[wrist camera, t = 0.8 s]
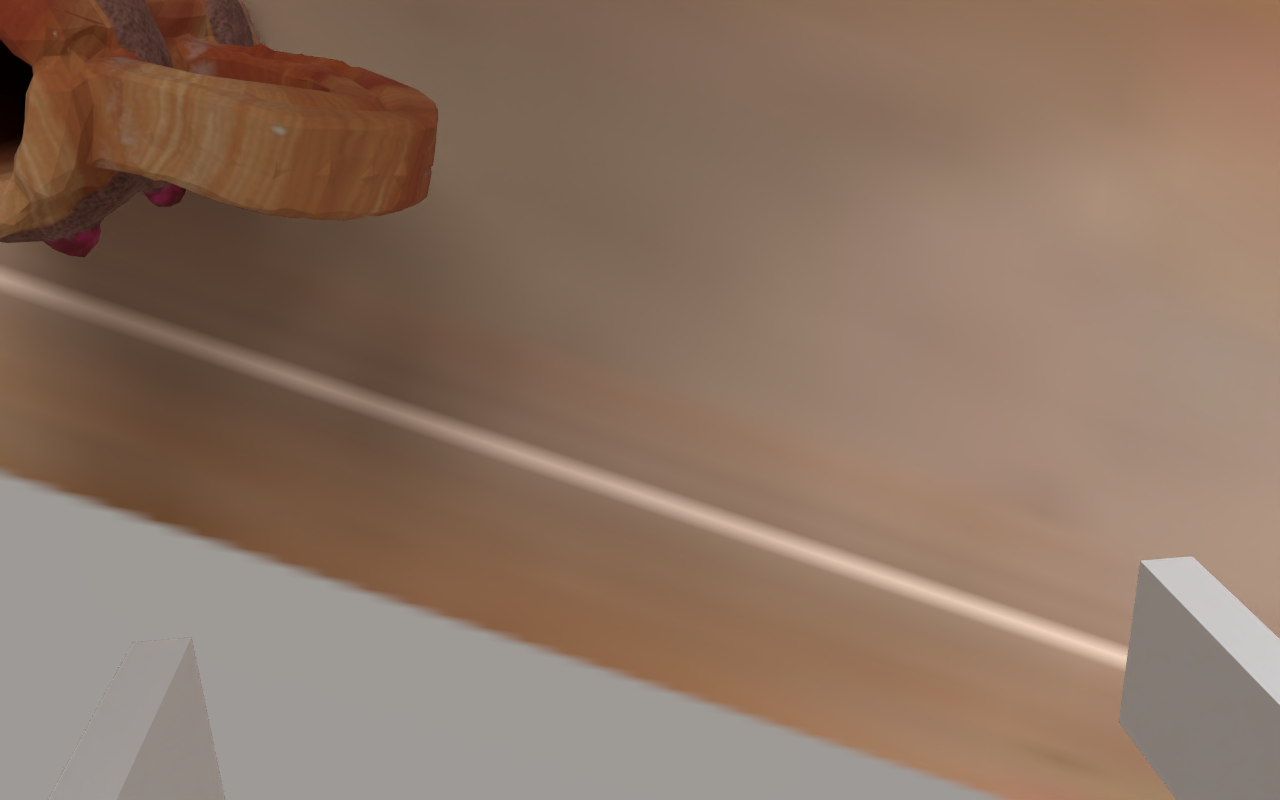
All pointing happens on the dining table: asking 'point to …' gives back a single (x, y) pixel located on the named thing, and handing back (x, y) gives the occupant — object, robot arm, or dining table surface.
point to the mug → (190, 120)
